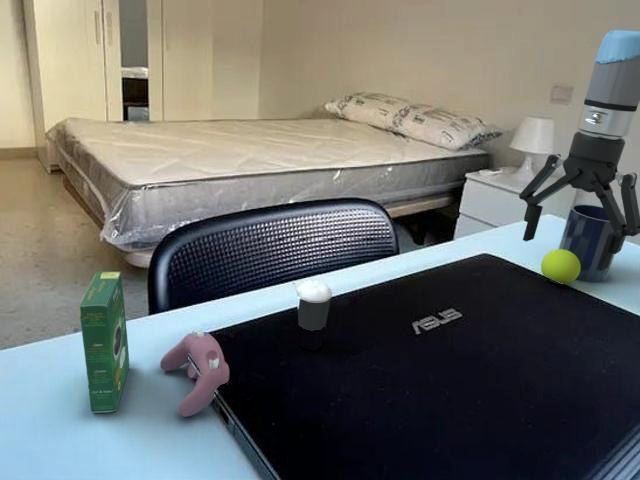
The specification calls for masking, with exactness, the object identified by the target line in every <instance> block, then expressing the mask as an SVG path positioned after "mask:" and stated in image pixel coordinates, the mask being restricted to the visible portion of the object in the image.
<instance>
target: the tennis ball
mask: <svg viewBox="0 0 640 480" xmlns="http://www.w3.org/2000/svg"><path fill="white" fill-rule="evenodd" d="M540 268H541V270H540V271H541V273H542V275H543V277H544V276H546V277H548V278H550V279H553V280H555V281H558V282H560V283H563V284H564V285H563V286H565V285H569V284H571V283H573V282H574V281H575V280H577V279H576V278H577V277H578V275H579V273H580V262H579V260H578V258H577V257H576V256H575V255H574V254H573V253H572V252H570V251H567V250H563V249H558V248H557V249H554V250H553V249H552V250H551V251H549V252H548V253H546V255H544V256H543V258H542V260H541V264H540Z"/></svg>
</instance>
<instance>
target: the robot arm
mask: <svg viewBox="0 0 640 480" xmlns="http://www.w3.org/2000/svg"><path fill="white" fill-rule="evenodd" d="M590 76H591V77H590V80H589V83H588V87H587V91H586V95H585V98H584V100H583V104H582V107H581V111H580V113H579V118H578V120H577V124H576V128H577V129H578V130H579V131H576V132H575V133H574V134H573V136H572V137H573V138H572V141H571V144H570V146H569V147H570V148H569V150H568V156H567V157H563V156H562V155H561V154H560V153H554V154H549V155H548V156H547V158H546V161H545V163H544V166H543V167H542V168H541V169H540V170H539V171H538V172H537V174H536V175H535V176H533V177H534V178H532V180H531V181H530V182H529V183H528V184H527V185H526V186H525V187H524V189H523V190H522V191H521V192H520V193H519V195H518V198H519V199H520V200H522V201H524V203H526V209H525V213H524V217H523V221H524V222H525V223H527V224H526V226H525V230H524V233H523V234H524V235H523V237H522V241H523V242H529V241H531V240H534V239H535V236H536V232H537V229H538V225H539V221H540V219H541V216H542V215H541V214H542V211H543V208H544V206H543V205H540V204H541V203H542V202H544V201H545V200H547V199H549V198H550V197H551V196H553V195H554V194H557V193H558V192H559V191H561V190H562V189H564V188H565V187H567V186H569V185H570V186H571V188H573V189H578V190H582V191H584V192H586V193H595V196H596V198H597V199H598V200H599V201H600V204H601V207H603V208H604V210H605V213H606V215H607V217H608V219H609V221H610V224H611V226H612V228H613V230H614V232H612V233H609V235H608V237H607V240H606V243H605V246H604V249H603V252H602V255H601V257H600V260H599V263H598V266H597V270H599V271H602V270H604V269H606V268H608V265H609V263H610V260H611V257H612V254H615V255H616V254H619V253H620V252H621V251H622V249H623V245H624V243H625V240H626V237H636V236H638V235H640V209H639V202H638V197H637V191H636V184H637V180H638V174H637V173H636V172H629V173H628V172H626V173H625V172H620V171H619V170H618V166H619V164H620V163H619V162H620V160H621V158H622V154H623V151H624V148H625V145H626V141H625V139H624V138H625V137H627V136H629V133H630V130H631V127H632V125H633V122H634V118H635V115H636V112H637V110H638V106H639V104H640V31H636V30H622V29H615V30H614V29H613V30H610V31H608V32H607V33H606V34H605V35H604V37H603V38H602V41H601V44H600V46H599V49H598V52H597V55H596V58H595V59H594V66H593V68H592V73H591V75H590ZM561 167H562V169H563V170H564V173H565V174H564V175H563V176H561V177H560V178H558V179H556V181H555V182H553V183H551V184H550V185H549V186H547V187H546V188H544V189H543V190H541V191H540V192H538V193H537V194H536V192H537V191H538V190H539V189H540V188H541V187H542V186H543V185H544V183H545V182H546V181H548V179H549V178H550V177H551V176H552V175H553V173H554V172H555V171H556V170H557V169H560V168H561ZM615 180H616V181H617V185H618V186H619V187H620V195H621V200H622V207H623V213H624V214H623V213H622V211H621V209H620V206H619V205H618V202H617V200H616V198H615V196H614V190H613V188H612V186H611V183H612V182H614V181H615ZM534 194H535V195H534ZM622 214H623V215H624V216H625V219H626V222H625V220H624V218H623V215H622Z"/></svg>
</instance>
